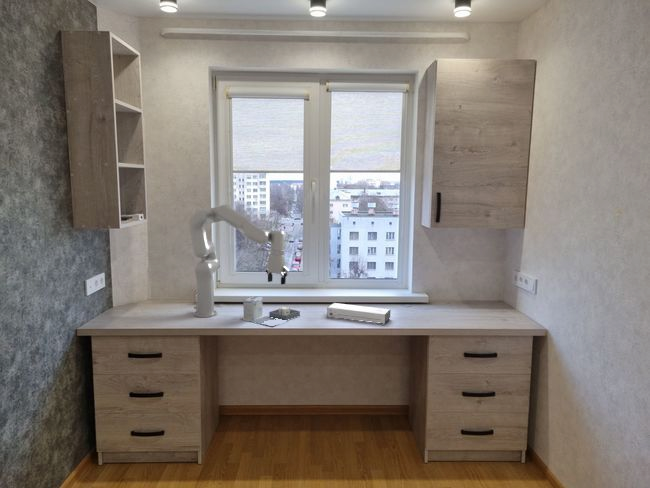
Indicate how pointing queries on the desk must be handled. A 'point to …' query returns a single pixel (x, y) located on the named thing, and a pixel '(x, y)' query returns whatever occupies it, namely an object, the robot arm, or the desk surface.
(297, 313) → the dice tray
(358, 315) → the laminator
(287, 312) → the die
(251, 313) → the light bulb box
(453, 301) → the desk surface
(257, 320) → the track mat
